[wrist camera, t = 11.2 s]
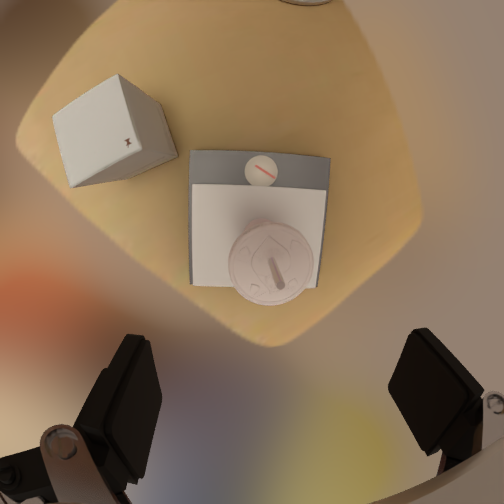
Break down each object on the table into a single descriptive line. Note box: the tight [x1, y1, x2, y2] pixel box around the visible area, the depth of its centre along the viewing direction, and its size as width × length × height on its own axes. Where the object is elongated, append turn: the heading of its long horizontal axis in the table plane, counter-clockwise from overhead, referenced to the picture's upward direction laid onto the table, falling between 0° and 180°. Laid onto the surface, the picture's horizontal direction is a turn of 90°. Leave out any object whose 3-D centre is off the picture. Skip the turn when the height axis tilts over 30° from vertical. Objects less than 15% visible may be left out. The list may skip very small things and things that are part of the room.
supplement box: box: [52, 74, 178, 188], centre depth 23 cm, size 7×7×13 cm
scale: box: [189, 150, 331, 288], centre depth 30 cm, size 15×15×4 cm
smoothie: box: [228, 218, 314, 306], centre depth 22 cm, size 6×6×14 cm
